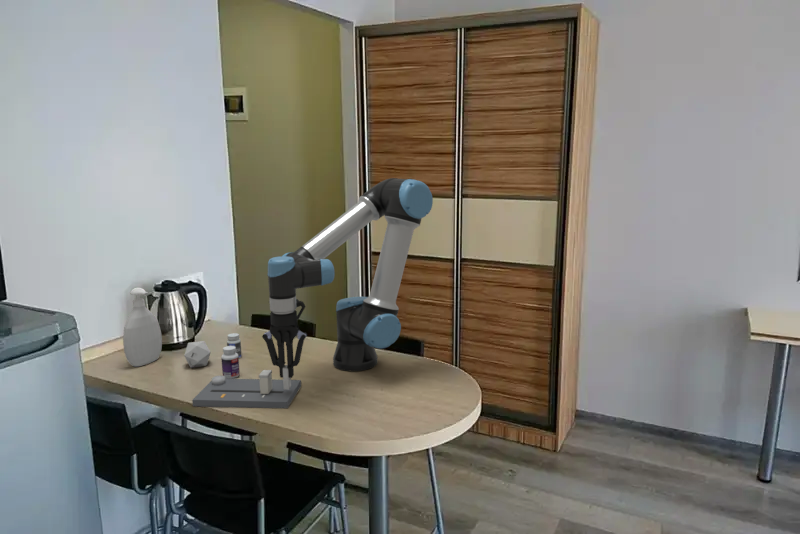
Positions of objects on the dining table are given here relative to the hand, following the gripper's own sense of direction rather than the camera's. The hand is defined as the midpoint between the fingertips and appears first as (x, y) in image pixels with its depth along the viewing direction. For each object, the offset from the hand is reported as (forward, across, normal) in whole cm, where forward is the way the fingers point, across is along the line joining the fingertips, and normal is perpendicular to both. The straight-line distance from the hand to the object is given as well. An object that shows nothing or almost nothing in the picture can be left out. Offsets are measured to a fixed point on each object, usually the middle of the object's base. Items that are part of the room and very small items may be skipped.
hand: (287, 387), depth 176 cm
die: (+4, +38, -26) cm, 46 cm away
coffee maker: (+4, +15, -58) cm, 60 cm away
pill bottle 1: (+4, +28, -34) cm, 44 cm away
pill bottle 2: (+4, +23, -17) cm, 29 cm away
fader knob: (+1, +6, 0) cm, 7 cm away
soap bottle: (+4, +57, -27) cm, 63 cm away
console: (+4, +12, -2) cm, 13 cm away
